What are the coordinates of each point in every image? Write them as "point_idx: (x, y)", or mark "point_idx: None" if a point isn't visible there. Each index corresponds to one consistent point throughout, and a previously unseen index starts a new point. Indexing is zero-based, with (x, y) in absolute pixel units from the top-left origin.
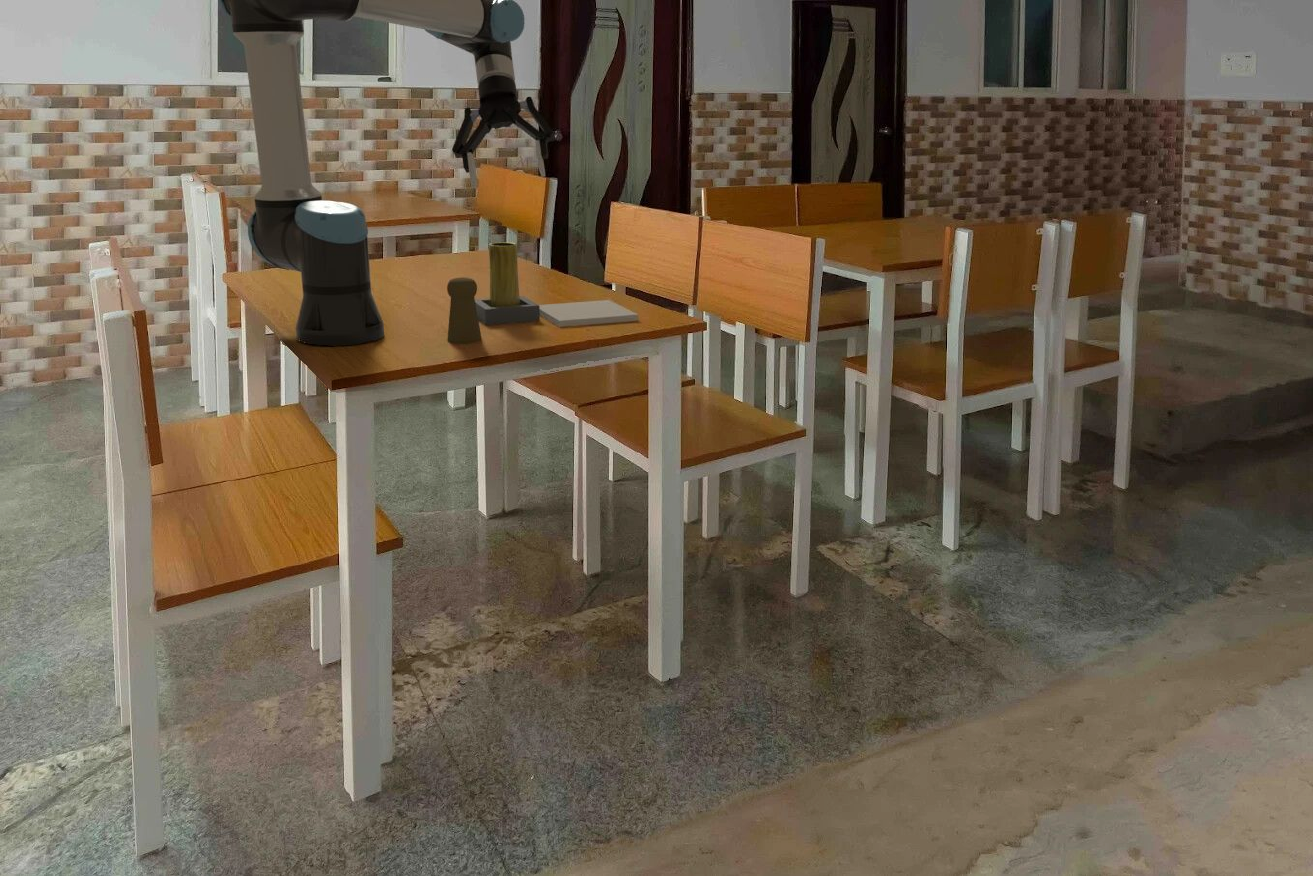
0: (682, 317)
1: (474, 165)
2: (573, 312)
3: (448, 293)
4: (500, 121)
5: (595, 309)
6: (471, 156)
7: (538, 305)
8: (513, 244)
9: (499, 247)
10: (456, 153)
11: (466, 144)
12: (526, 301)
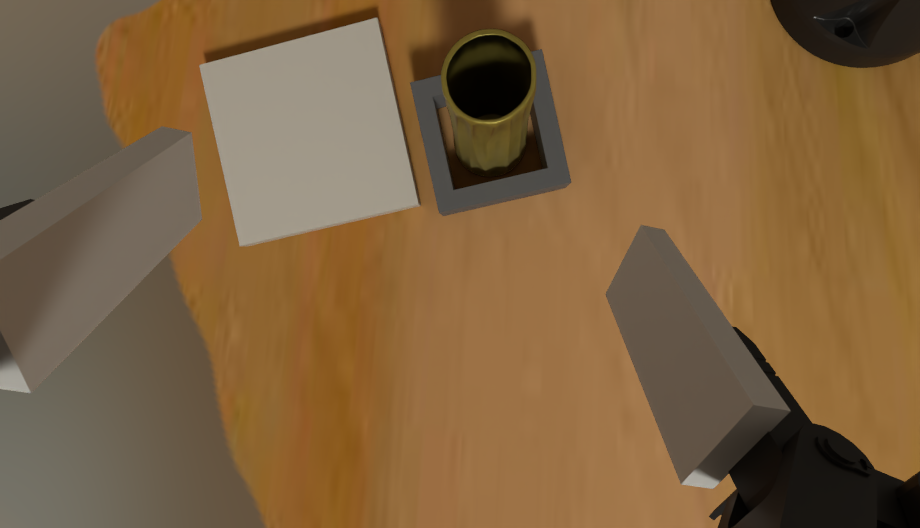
0: (112, 94)
1: (664, 397)
2: (336, 107)
3: None
4: None
5: (283, 134)
6: (726, 370)
7: (412, 82)
8: (450, 98)
9: (502, 30)
10: (898, 480)
11: (857, 522)
12: (437, 138)
